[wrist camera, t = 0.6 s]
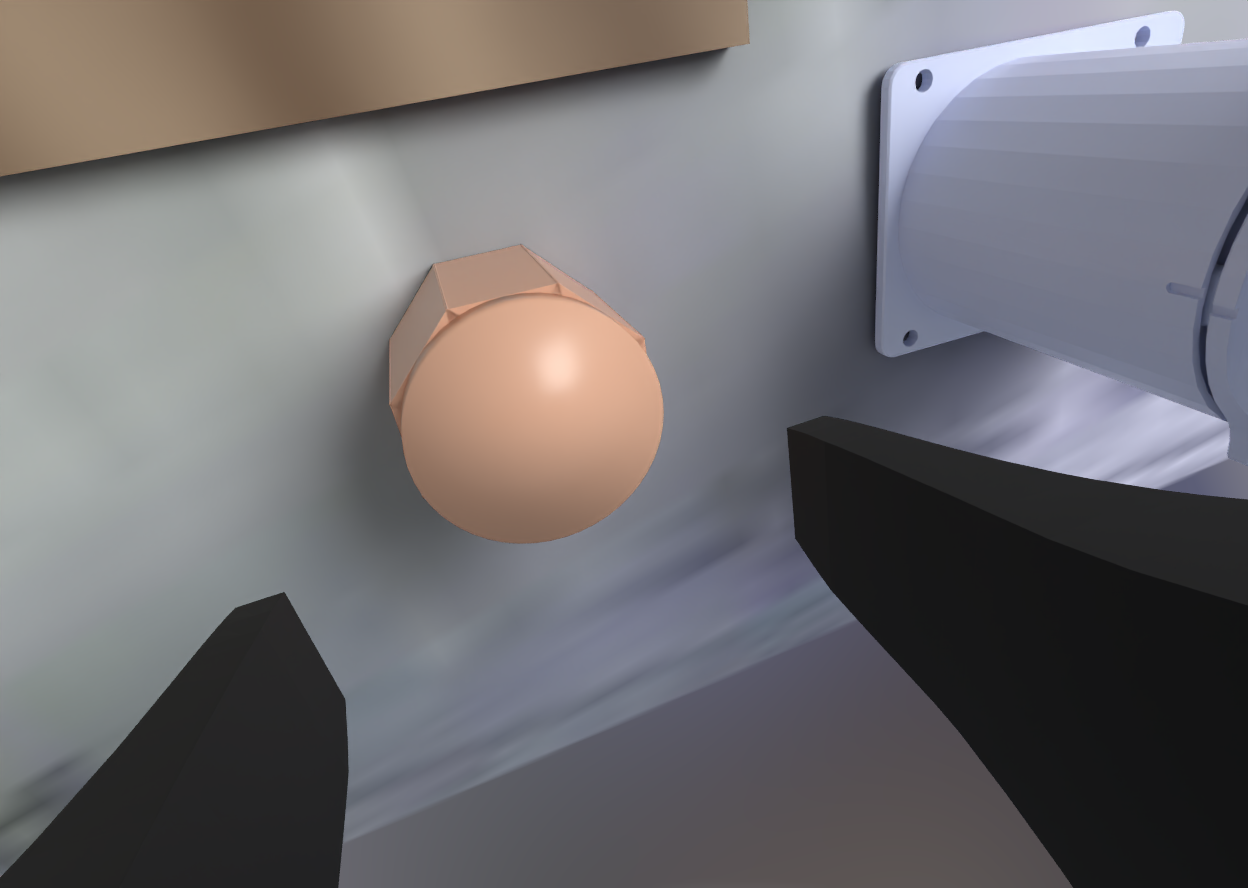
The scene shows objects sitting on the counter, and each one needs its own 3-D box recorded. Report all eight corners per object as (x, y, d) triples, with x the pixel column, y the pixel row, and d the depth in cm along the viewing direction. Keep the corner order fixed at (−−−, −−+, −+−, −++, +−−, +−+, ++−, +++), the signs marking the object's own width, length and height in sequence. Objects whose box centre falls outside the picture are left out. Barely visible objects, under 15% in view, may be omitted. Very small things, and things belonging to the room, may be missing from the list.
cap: (580, 230, 17) (645, 271, 13) (614, 415, 19) (678, 502, 15) (368, 278, 16) (360, 339, 12) (432, 467, 18) (445, 574, 14)
